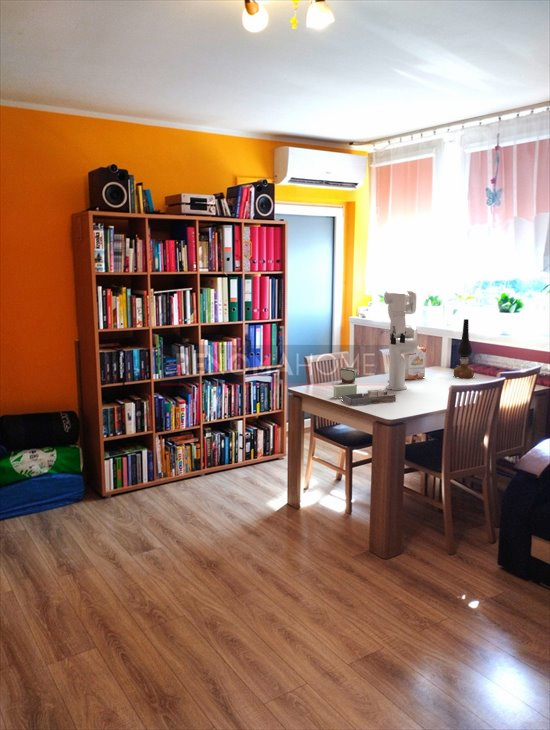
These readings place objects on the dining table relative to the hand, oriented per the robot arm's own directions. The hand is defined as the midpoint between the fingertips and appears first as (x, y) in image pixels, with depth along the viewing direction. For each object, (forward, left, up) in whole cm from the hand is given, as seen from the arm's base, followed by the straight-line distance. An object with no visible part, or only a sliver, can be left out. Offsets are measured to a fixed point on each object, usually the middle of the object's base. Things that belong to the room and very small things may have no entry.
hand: (397, 343), depth 341 cm
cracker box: (-44, +39, -32) cm, 67 cm away
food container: (-45, -8, -32) cm, 56 cm away
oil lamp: (-38, +74, -32) cm, 89 cm away
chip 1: (+5, -18, -29) cm, 35 cm away
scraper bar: (-10, -28, -32) cm, 44 cm away
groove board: (+5, -14, -31) cm, 35 cm away
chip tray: (+5, -28, -31) cm, 42 cm away
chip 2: (+5, -14, -29) cm, 33 cm away
